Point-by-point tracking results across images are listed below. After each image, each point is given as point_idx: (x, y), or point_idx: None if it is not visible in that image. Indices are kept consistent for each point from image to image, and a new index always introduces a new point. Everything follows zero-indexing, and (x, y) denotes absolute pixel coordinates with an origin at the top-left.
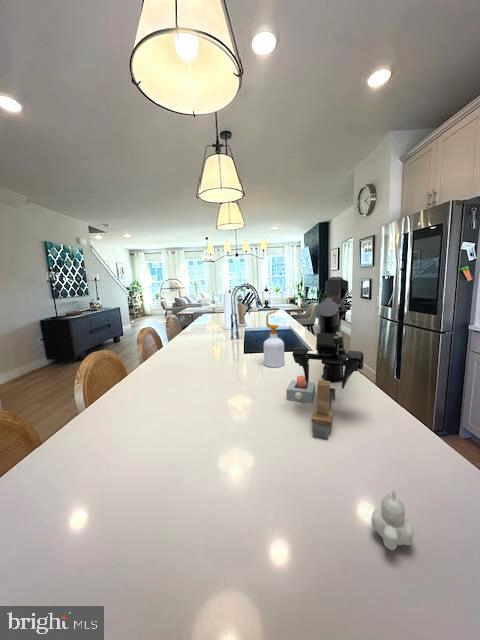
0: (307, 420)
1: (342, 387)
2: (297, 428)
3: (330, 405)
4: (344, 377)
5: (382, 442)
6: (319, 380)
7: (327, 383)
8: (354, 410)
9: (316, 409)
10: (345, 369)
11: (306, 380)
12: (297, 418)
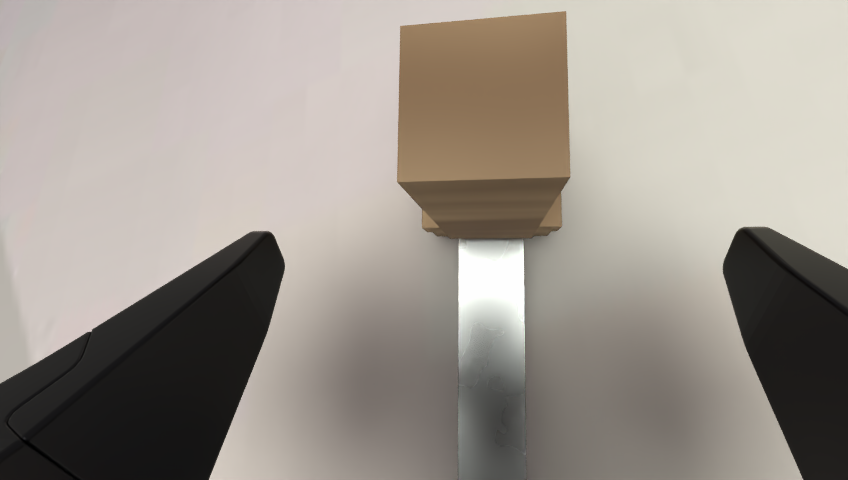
0: (596, 244)
1: (269, 233)
2: (637, 131)
3: (458, 402)
4: (170, 300)
5: (209, 168)
6: (556, 175)
7: (422, 94)
8: (317, 471)
9: (545, 223)
10: (39, 413)
11: (778, 238)
12: (668, 247)
